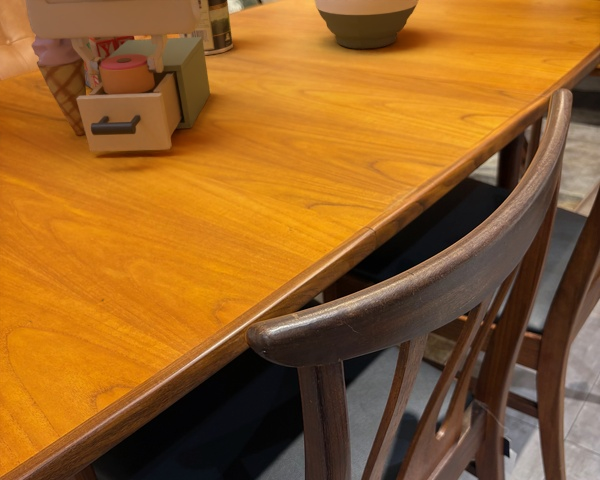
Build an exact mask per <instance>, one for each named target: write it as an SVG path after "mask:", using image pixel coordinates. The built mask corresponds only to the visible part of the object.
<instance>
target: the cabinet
mask: <svg viewBox="0 0 600 480" xmlns="http://www.w3.org/2000/svg"><path fill="white" fill-rule="evenodd" d="M167 38H168V41H167V43H166V46H165V49H164V52H163V54H162V61H163V67H164V68H163V71H162V72H168V71H176V74H177V80H178V85H179V91H180V97H181V103H182V109H183V117H182V119H181V120H180V122H179V124H178V125H177V127H176V129H192V127H193V126H194V124H195V122H196V121H197V118H198V117H199V115H200V113H201V112H202V110H203V108H204V106H205V104H206V102H207V101H208V99H209V97H210V95H211V89H210V84H209V83H210V82H209V75H208V74H209V73H208V67H207V61H206V55H205V53H204V46H203V39H202V37H189V38H179V37H167ZM156 47H157V44H152V39H151V38H145V39H143V38H142V39H135V40H127V41H126V42H125V43H124V44H123V45H121V46H120V47H119V48H118V49H117V50H116V51H115V52H114V53H112V54H111V55H110V56H109V57H108V58H110V57H114V56H119V55H128V54H138V55H144V56H146V57H147V58H149V56H150V55H154V54H155V50H156ZM97 76H98V80H99V84H100V83H101V82H102V79H101V75H97ZM176 129H175V130H176Z"/></svg>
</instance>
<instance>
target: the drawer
mask: <svg viewBox="0 0 600 480" xmlns="http://www.w3.org/2000/svg"><path fill="white" fill-rule="evenodd" d="M153 76H154V81H155V86H154V87H153V88H152V89H150V90H148V91H145V92H142V93H138V94H114V95H111V94H107V93H106V92H105V91H104V88H103V83H102V82H101V83H100V84H99V85H98V86H97V87H95V88H94V89H92V90H91V91H90V92H89V93H88V94H86V95H85V96H79V97H78V98H77V99H76V100H77V104H78V107H79V111H80V115H81V118H82V122H83V125H84V129H85V137H86V140H87V143H88V148H89V151H90V152H119V151H120V152H123V151H125V152H126V151H128V152H129V151H160V150H161V151H163V150H164V151H165V150H171V148H172V147H173V144H172V136H173V133H174V132H175V130H176V127H177V125H178V124H179V122H180V120H181V119H182V117H183V109H182V103H181V97H180V91H179V85H178V80H177V74H176V71H168V72H162V73H153Z"/></svg>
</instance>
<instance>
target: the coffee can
mask: <svg viewBox="0 0 600 480" xmlns="http://www.w3.org/2000/svg"><path fill="white" fill-rule="evenodd" d="M198 3H199V9H200V16H201V20H200V23H199V25H198V27H197V28H196V29H195V30H194V31H193V32H192V33H190V34H178V38H189V37H202V39H203V46H204V53H205V56H210V55H217V54H221V53H225V52H228V51H231V50H232V49H233V48H234V44H233V37H232V28H231V20H230V11H229V3H228V0H198Z"/></svg>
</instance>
